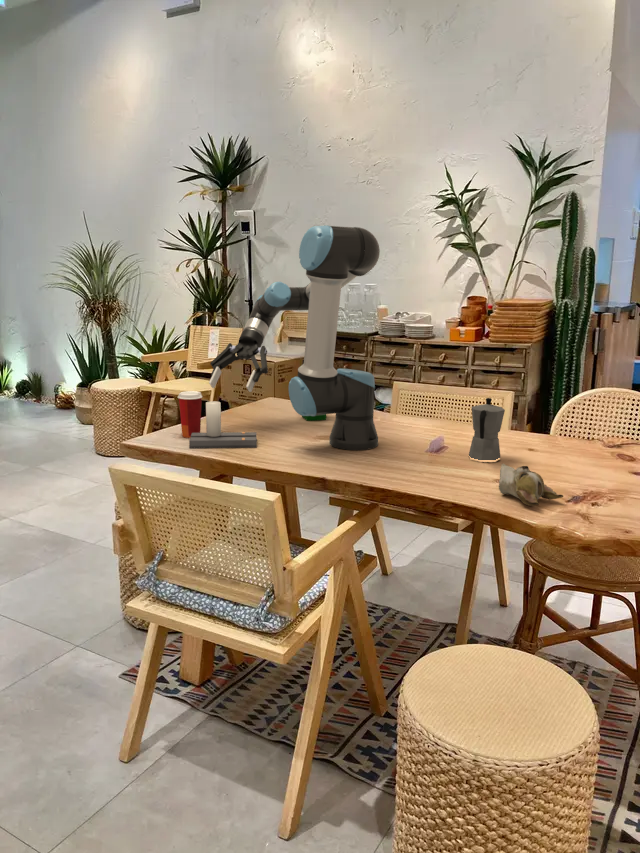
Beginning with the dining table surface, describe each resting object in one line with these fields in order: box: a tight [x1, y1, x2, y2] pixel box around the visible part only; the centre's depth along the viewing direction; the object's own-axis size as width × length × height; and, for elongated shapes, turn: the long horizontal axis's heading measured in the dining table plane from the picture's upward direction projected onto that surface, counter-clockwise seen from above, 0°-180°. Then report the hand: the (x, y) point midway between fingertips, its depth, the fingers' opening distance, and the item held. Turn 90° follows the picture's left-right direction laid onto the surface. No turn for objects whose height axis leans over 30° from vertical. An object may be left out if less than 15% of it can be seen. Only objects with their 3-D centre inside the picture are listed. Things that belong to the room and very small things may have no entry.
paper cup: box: [177, 390, 203, 439], centre depth 215 cm, size 8×8×14 cm
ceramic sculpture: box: [498, 463, 564, 506], centre depth 161 cm, size 11×9×15 cm
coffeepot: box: [468, 397, 506, 460], centre depth 193 cm, size 15×9×18 cm, turn 156°
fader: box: [205, 400, 222, 437], centre depth 206 cm, size 4×4×12 cm
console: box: [188, 431, 258, 449], centre depth 208 cm, size 20×10×3 cm, turn 96°
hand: (229, 387), depth 213 cm, fingers open, 13 cm apart
